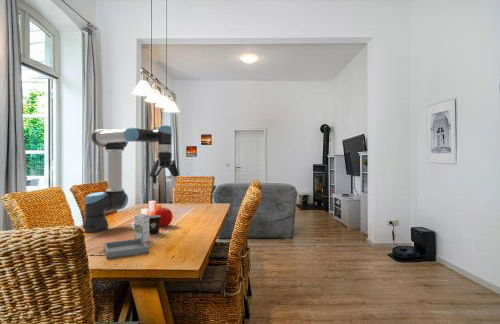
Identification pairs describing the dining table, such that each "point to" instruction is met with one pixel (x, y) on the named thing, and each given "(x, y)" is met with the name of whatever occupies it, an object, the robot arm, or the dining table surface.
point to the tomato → (164, 216)
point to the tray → (125, 248)
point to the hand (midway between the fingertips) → (164, 188)
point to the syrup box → (142, 227)
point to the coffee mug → (154, 224)
